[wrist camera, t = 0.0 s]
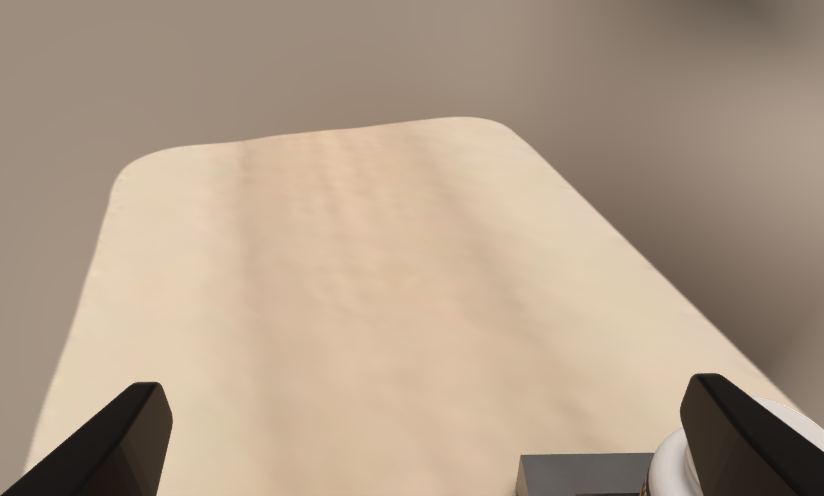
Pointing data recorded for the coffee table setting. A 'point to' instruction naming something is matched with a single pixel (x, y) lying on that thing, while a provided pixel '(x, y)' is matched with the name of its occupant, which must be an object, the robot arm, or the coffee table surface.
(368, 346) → the coffee table surface
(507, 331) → the coffee table surface
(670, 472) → the supplement bottle
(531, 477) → the frame
